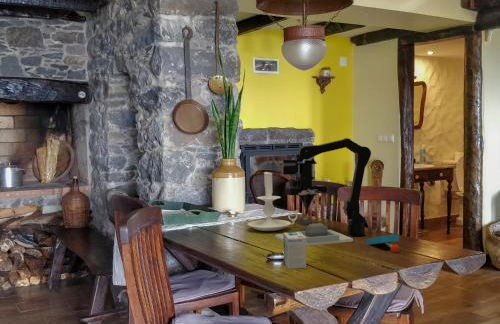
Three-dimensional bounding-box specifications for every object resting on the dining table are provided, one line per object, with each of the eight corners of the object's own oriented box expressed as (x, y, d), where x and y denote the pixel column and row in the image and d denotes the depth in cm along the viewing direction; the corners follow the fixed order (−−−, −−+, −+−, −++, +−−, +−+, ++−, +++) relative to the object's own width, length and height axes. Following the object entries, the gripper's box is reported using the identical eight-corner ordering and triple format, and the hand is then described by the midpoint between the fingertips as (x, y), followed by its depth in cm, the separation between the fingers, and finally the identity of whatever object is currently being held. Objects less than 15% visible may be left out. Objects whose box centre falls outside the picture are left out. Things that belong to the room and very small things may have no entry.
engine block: (322, 236, 237) (322, 222, 237) (327, 238, 232) (327, 224, 232) (305, 237, 235) (305, 224, 234) (310, 240, 230) (309, 226, 230)
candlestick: (304, 232, 254) (303, 171, 252) (252, 235, 250) (250, 174, 248) (293, 224, 274) (292, 168, 272) (244, 227, 270) (242, 170, 268)
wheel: (309, 222, 248) (308, 216, 248) (314, 224, 242) (313, 218, 242) (297, 223, 246) (297, 217, 246) (302, 225, 241) (302, 219, 241)
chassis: (330, 232, 252) (330, 225, 252) (353, 241, 231) (353, 233, 230) (274, 237, 244) (274, 230, 244) (293, 247, 223) (292, 239, 223)
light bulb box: (283, 261, 200) (282, 232, 200) (301, 260, 201) (300, 231, 200) (287, 269, 190) (287, 238, 189) (307, 268, 190) (306, 237, 190)
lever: (368, 256, 224) (389, 253, 207) (366, 239, 225) (387, 235, 208) (384, 254, 226) (406, 252, 209) (381, 237, 227) (403, 233, 210)
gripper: (314, 171, 252) (315, 205, 253) (278, 174, 245) (279, 209, 246) (327, 173, 242) (328, 208, 243) (290, 176, 234) (291, 212, 235)
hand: (306, 209), depth 242 cm, fingers closed
